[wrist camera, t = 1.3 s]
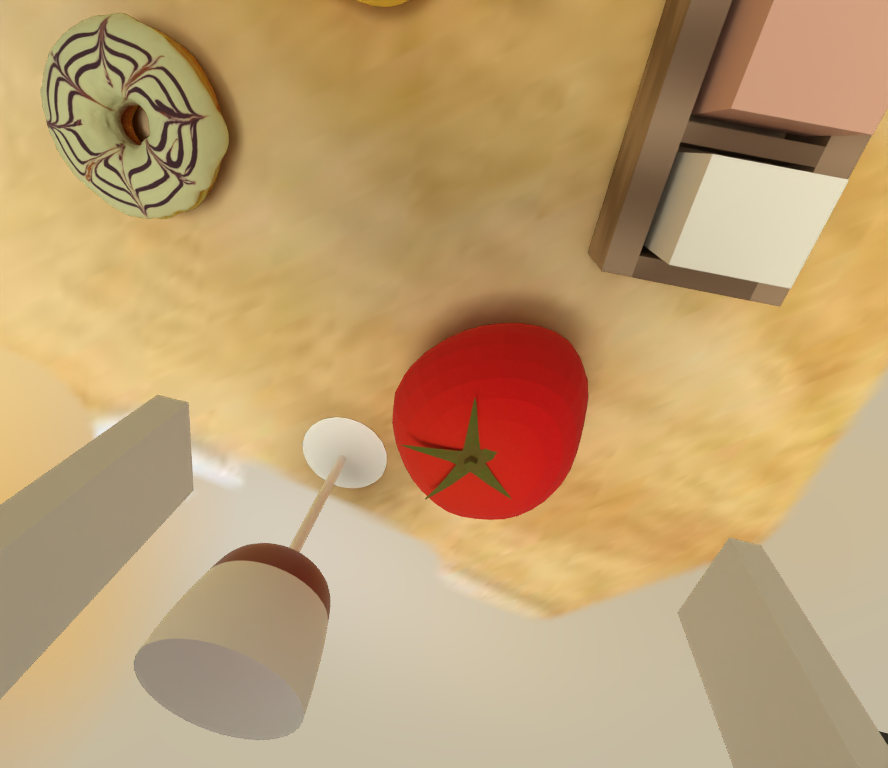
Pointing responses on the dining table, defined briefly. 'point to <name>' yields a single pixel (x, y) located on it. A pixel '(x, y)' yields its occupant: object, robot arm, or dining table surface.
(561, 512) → the dining table surface
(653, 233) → the ivory key
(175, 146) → the decorated donut
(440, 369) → the tomato
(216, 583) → the wineglass
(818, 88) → the terracotta key
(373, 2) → the teapot
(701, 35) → the key block
